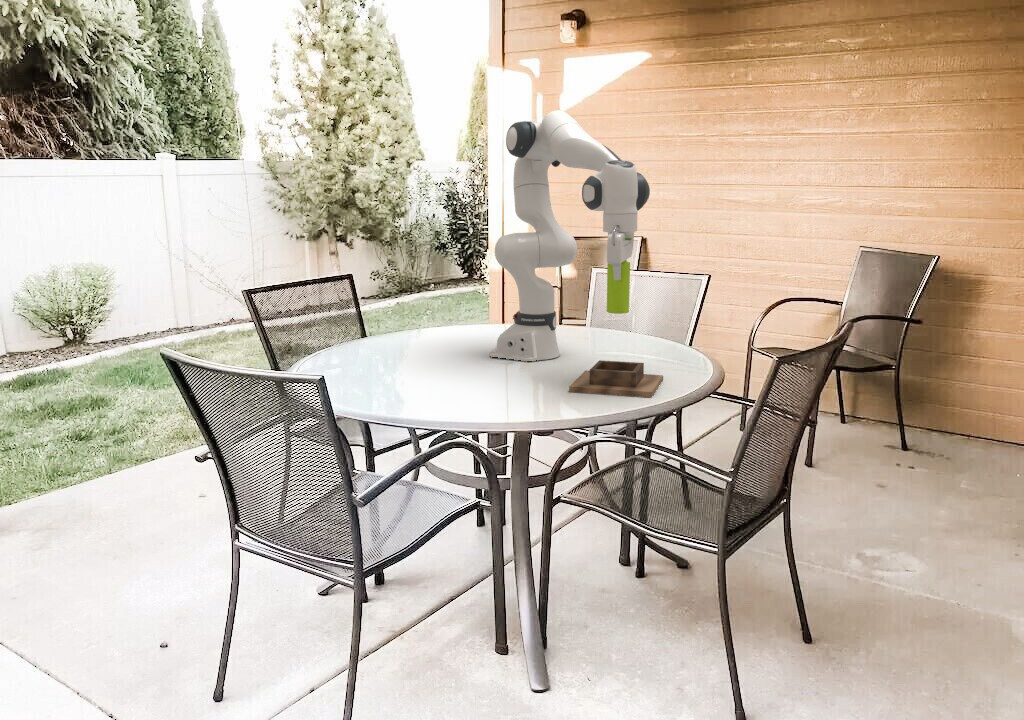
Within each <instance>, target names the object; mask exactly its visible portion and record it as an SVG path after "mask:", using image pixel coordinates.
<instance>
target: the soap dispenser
mask: <svg viewBox="0 0 1024 720" xmlns="http://www.w3.org/2000/svg"><path fill="white" fill-rule="evenodd" d="M625 240H632V238H625ZM606 270H607V271H606V272H607V274H606V275H607V277H606V278H607V279H606V281H607V282H606V313H608V314H617V315H620V314H627V313H628V314H629V313H630V286H631V285H630V284H631V281H630V280H631V276H630V275H631V262H629V261H628V260H627V261H624V262H622V263H621V279H620V280H614V273H613V267H612V264H608V263H607V269H606Z"/></svg>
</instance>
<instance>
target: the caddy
mask: <svg viewBox="0 0 1024 720" xmlns="http://www.w3.org/2000/svg"><path fill="white" fill-rule="evenodd" d="M644 372H645V363H644V362H635V361H621V360H620V361H618V360H617V361H616V360H601V359H600V360H598V361H597V362H596V363H595V364H594V365H593V366H592V367H591V368H590V369H589V370H584V371H583V373H581V374H580V375H579V376H578V377H576V379H575V380H574V381H573V382H572V383H571V384H570V385H569V386H568V392H569V393H579V394H592V395H593V394H594V395H606V394H607V396H620V395H621V396H624V397H634V396H641V397H640V398H648V397H652V396H653V397H654V396H655V394H656V393H657V391H658V389H659V388H660V386H661V384H662V383H661V382H663V380H664V375H663V374H650V373H646V374H645V373H644ZM659 385H660V386H659ZM656 390H657V391H656ZM654 393H655V394H654ZM642 396H643V397H642ZM653 397H652V398H653Z"/></svg>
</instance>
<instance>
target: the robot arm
mask: <svg viewBox="0 0 1024 720" xmlns="http://www.w3.org/2000/svg"><path fill="white" fill-rule="evenodd" d="M505 138H506V139H505V143H506V144H505V145H506V149H507V151H508V152H509V154H510V155H511V156H514V157H516V158H517V159H516V160H515V162H514V168H513V196H514V198H513V199H514V210H515V211H514V212H515V214H516V216H517V217H518V218H519V219H520V220H521V221H522V222H524V223H526V224H528V225H530V226H531V227H533V229H534V230H535V232H514V233H510V234H504V235H502V236H500V237H499V238H498V240H497V241H496V243H495V247H494V256H495V260H496V261H497V263H498V264H499V265H500V267H502V268H504V269H505V270H506V271H507V272H508V273H509V274H510V275H511V277H512V278H513V280H514V281H515V284H516V287H517V291H518V300H519V310H517V311H516V313H514V314H513V315H512V320H513V322H514V323H513V324H512V325H510V326H509V327H507V329H506V330H504V331H503V332H502V333H500V334H499V336H498V338H497V340H496V348H493V349H492V350H490V352H489V357H490V356H491V357H490V358H492V357H498V358H497V359H500V358H506V359H505V360H509V359H514V360H513V361H518V360H521V361H520V362H527V361H532V362H536V360H537V361H543V360H551V359H554V358H558V357H560V355H561V353H560V351H559V350H560V349H559V345H558V340H557V334H556V328H557V312H556V311H555V288H554V286H553V285H552V284H551V283H550V281H547V280H546V279H544V278H541V277H539V276H537V275H536V269H540V268H542V269H543V268H560V267H563V266H567V265H571V264H572V263H573V262H574V260H576V257H577V253H578V244H577V242H576V241H577V240H576V239H575V237H574V236H573V235H572V234H571V233H570V232H568V231H566V229H564V228H563V227H562V226H561V225H560V224H559V223H558V220H557V219H556V216H555V215H554V213H553V209H552V204H551V203H552V202H551V195H550V186H549V185H550V183H549V178H548V176H549V175H548V171H549V167H550V166H552V167H555V168H557V167H559V166H560V165H561V164H562V165H563V166H565V167H567V168H572V169H582V170H590V171H595V172H597V173H596V174H593V175H590V176H589V177H587V178H586V179H585V181H584V183H583V185H582V187H581V196H582V197H581V199H582V202H583V203H584V205H585V207H586V208H587V209H588V210H591V211H595V212H602V232H604V233H607V245H606V262H607V265H608V264H612V267H613V273H614V280H620V279H621V263H622V262H624V261H627V262H628V260H629V258H631V257H632V255H633V251H634V240H635V232H638V211H640V210H641V209H642V208H644V206H645V205H646V204H647V202H648V200H649V198H650V194H651V192H650V185H649V183H648V180H647V179H646V178H645V176H644V175H643V174H642V173H640V172H638V171H637V168H636V164H634V163H633V162H631V161H629V160H622V159H621V158H620V157H619V156H618V155H617V154H616V153H615V152H614V151H612V150H611V149H610V148H609V147H607V146H606V145H604V144H603V143H601V142H600V141H598V140H596V139H595V138H593V137H592V136H591V135H589V133H588V132H587V131H585V130H584V129H583V128H582V126H581V125H580V124H579V123H578V121H576V119H575V118H574V117H572V116H571V115H570V114H569V113H567V112H566V111H564V110H559V109H557V110H556V109H555V110H552V111H550V112H549V113H547V114H546V115H545V116H544V117H543V119H542V121H541V122H534V121H527V120H523V121H516V122H514V123H512V124H511V125H510V126H509V128H508V130H507V132H506V137H505ZM625 238H632V240H625Z"/></svg>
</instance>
